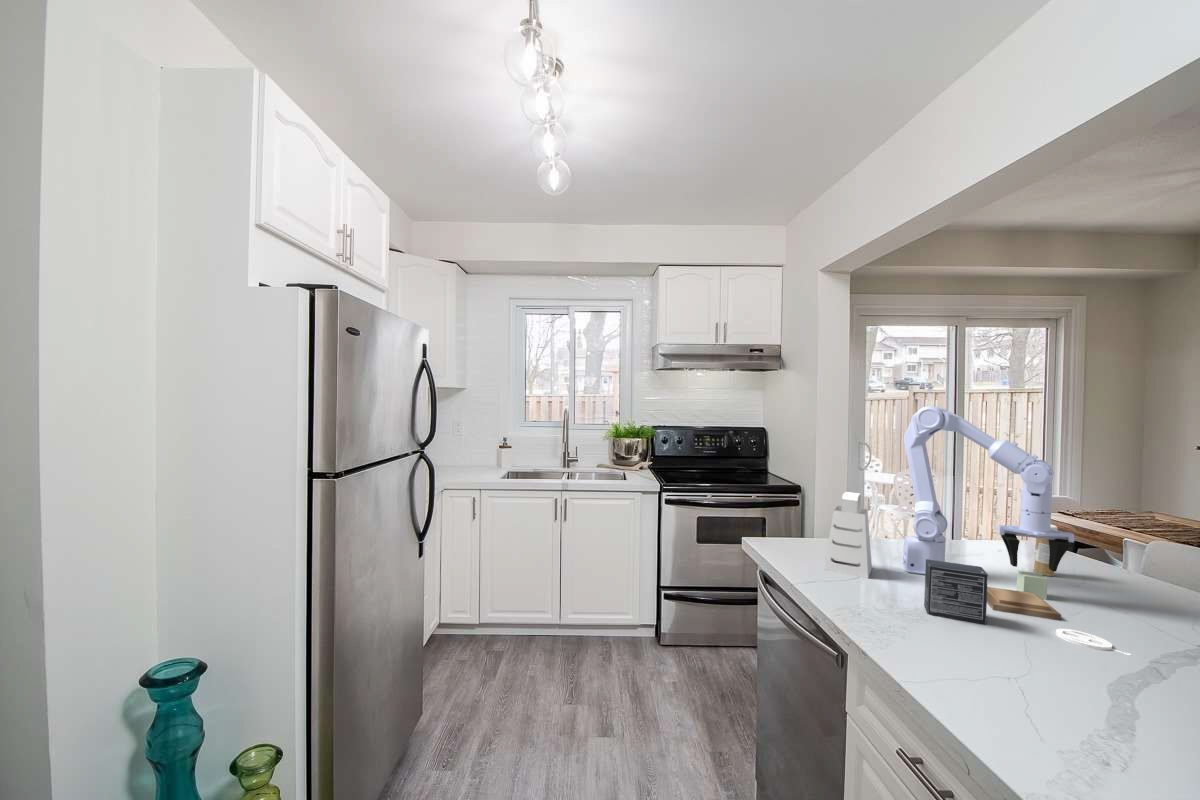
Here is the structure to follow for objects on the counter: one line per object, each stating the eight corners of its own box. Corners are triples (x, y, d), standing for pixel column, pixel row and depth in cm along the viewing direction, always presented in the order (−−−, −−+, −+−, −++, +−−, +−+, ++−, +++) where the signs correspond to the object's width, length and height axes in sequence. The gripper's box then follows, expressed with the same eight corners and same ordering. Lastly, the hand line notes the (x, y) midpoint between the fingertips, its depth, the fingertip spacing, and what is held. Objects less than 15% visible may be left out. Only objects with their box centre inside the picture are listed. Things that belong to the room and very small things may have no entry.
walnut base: (993, 609, 118) (993, 600, 118) (976, 591, 129) (977, 583, 129) (1060, 620, 114) (1061, 610, 114) (1037, 600, 125) (1038, 592, 125)
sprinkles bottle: (1035, 570, 149) (1038, 521, 149) (1056, 574, 145) (1059, 525, 145) (1031, 573, 146) (1034, 523, 146) (1052, 577, 143) (1055, 527, 142)
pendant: (1060, 629, 110) (1060, 625, 110) (1135, 651, 101) (1136, 647, 101) (1050, 637, 105) (1051, 633, 105) (1128, 661, 97) (1128, 657, 97)
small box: (980, 614, 115) (982, 565, 115) (987, 625, 110) (989, 574, 109) (922, 604, 120) (925, 557, 120) (926, 614, 114) (929, 565, 114)
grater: (823, 569, 141) (827, 494, 141) (830, 560, 150) (833, 488, 150) (867, 578, 136) (871, 499, 135) (871, 567, 145) (875, 494, 144)
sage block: (1023, 596, 127) (1024, 575, 127) (1016, 590, 132) (1017, 570, 132) (1046, 600, 126) (1047, 579, 126) (1038, 593, 130) (1039, 573, 130)
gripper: (1005, 510, 127) (1002, 567, 127) (1081, 518, 122) (1078, 577, 122) (995, 505, 134) (992, 559, 134) (1067, 512, 129) (1064, 568, 129)
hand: (1032, 567), depth 129 cm, fingers open, 7 cm apart
